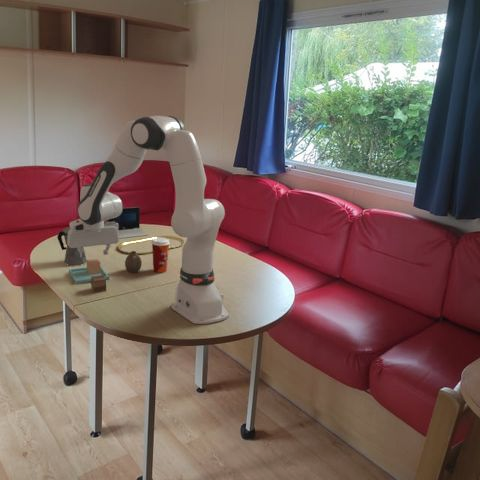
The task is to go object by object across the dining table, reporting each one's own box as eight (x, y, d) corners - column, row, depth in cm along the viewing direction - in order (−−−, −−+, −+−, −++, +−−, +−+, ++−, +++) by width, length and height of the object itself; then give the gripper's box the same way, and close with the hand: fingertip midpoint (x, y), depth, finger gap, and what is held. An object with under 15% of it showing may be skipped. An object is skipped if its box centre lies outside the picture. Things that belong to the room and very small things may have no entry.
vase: (144, 269, 208) (144, 250, 205) (136, 275, 202) (136, 255, 199) (129, 267, 210) (129, 248, 207) (122, 272, 203) (121, 253, 201)
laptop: (115, 239, 246) (114, 215, 242) (107, 232, 256) (106, 209, 252) (148, 236, 255) (148, 212, 252) (139, 229, 265) (139, 206, 262)
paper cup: (165, 274, 204) (166, 243, 200) (148, 272, 206) (148, 241, 201) (171, 268, 212) (172, 238, 207) (155, 266, 213) (155, 236, 209)
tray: (108, 279, 195) (108, 276, 194) (75, 284, 189) (75, 280, 188) (100, 269, 206) (100, 265, 205) (69, 272, 199) (69, 269, 199)
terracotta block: (97, 269, 203) (97, 258, 202) (100, 273, 199) (100, 262, 198) (86, 270, 201) (86, 259, 199) (89, 274, 197) (89, 263, 196)
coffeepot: (79, 256, 219) (78, 217, 214) (94, 260, 215) (93, 221, 209) (51, 265, 206) (49, 224, 201) (67, 270, 202) (65, 229, 196)
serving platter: (110, 247, 234) (110, 244, 234) (169, 236, 258) (170, 233, 257) (130, 258, 222) (130, 255, 221) (191, 245, 245) (191, 243, 244)
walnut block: (106, 291, 185) (106, 279, 183) (94, 292, 183) (94, 280, 181) (103, 286, 188) (102, 274, 187) (91, 288, 186) (91, 276, 185)
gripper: (116, 219, 201) (117, 250, 205) (65, 223, 192) (67, 256, 196) (120, 222, 196) (121, 254, 200) (68, 227, 186) (70, 260, 190)
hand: (94, 255), depth 198 cm, fingers open, 8 cm apart
